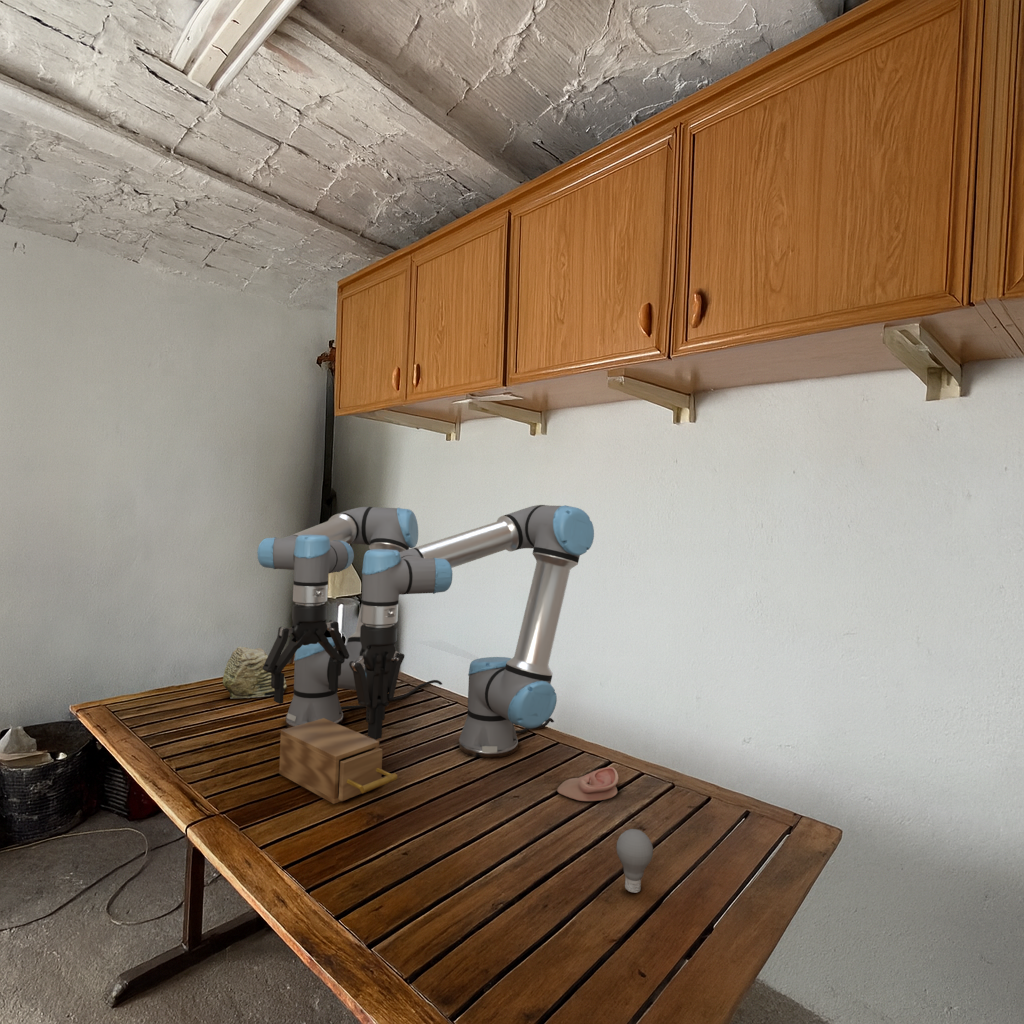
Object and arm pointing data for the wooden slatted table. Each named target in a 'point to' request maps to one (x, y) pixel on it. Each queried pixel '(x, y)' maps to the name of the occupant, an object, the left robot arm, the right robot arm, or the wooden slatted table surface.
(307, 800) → the wooden slatted table surface
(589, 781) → the anatomical model
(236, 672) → the fossil
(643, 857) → the light bulb
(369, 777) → the drawer
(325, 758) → the cabinet
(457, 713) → the wooden slatted table surface
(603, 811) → the wooden slatted table surface
